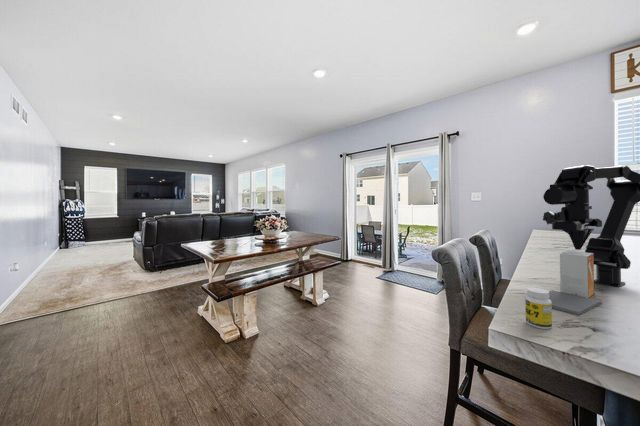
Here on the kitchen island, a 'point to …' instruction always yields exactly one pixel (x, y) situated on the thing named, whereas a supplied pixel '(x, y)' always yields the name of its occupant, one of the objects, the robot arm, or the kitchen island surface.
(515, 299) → the kitchen island surface
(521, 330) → the kitchen island surface
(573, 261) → the small box
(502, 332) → the kitchen island surface
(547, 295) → the supplement bottle
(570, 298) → the mat
